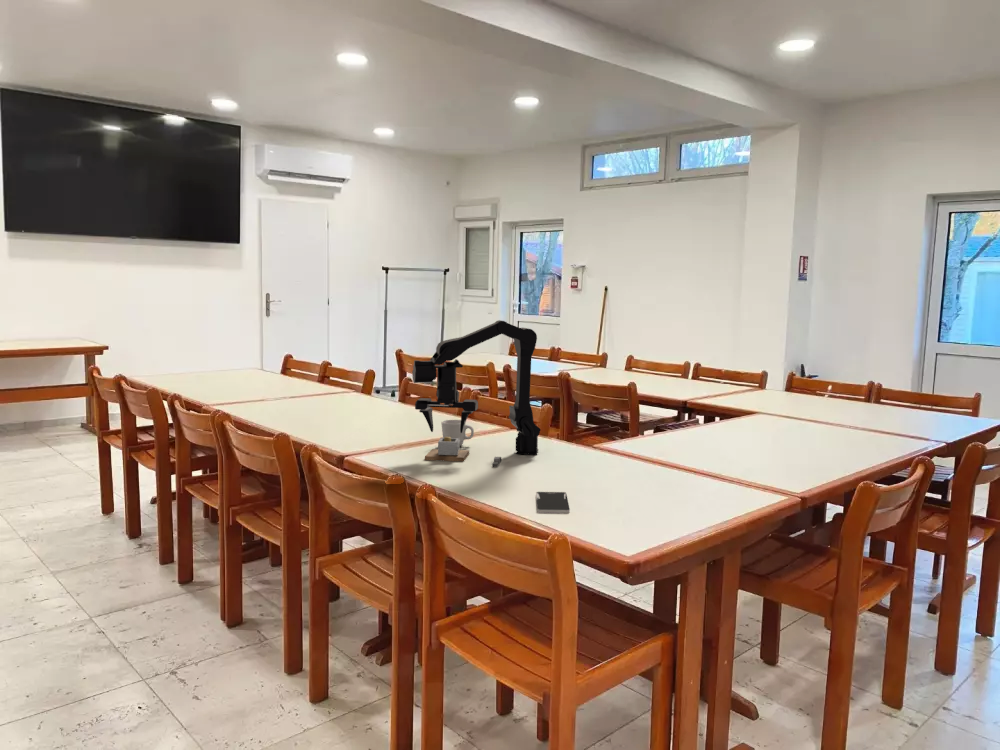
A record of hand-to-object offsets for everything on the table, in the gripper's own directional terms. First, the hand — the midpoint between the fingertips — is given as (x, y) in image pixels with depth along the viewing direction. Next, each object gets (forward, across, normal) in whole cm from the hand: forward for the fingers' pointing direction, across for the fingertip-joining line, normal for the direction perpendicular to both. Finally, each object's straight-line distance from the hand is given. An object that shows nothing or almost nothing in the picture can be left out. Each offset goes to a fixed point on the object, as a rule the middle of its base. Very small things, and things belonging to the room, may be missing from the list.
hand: (446, 432), depth 226 cm
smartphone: (+9, -35, +44) cm, 57 cm away
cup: (+8, 0, -17) cm, 19 cm away
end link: (+6, -1, +1) cm, 6 cm away
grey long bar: (+8, -16, +6) cm, 19 cm away
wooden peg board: (+8, 0, 0) cm, 8 cm away
